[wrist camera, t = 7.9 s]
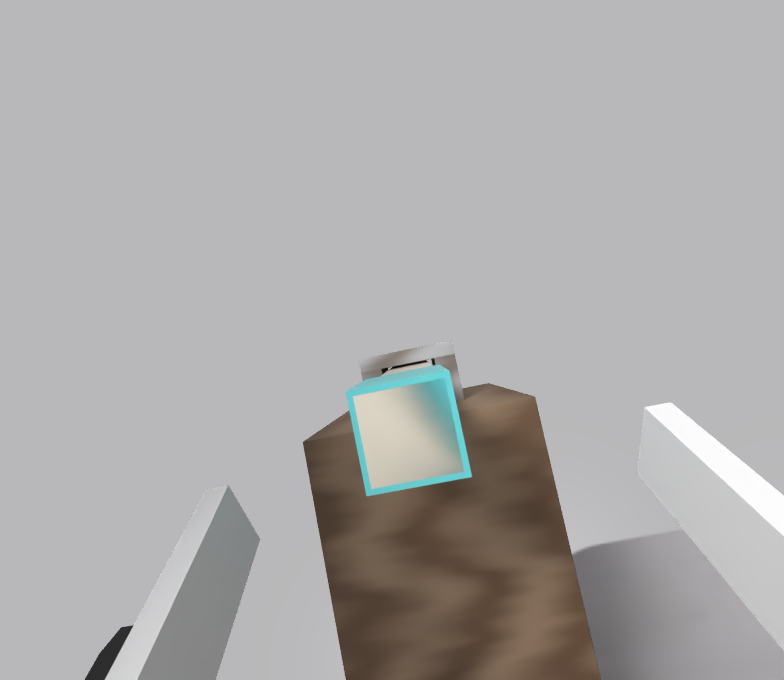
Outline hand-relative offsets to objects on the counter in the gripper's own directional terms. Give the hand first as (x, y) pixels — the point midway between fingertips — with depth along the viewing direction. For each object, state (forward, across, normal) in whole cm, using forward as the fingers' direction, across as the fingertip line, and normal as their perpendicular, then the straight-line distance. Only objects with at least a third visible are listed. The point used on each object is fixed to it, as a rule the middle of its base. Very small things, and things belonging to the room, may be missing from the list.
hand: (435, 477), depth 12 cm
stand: (0, -1, -34) cm, 34 cm away
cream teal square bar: (+10, -1, -5) cm, 11 cm away
